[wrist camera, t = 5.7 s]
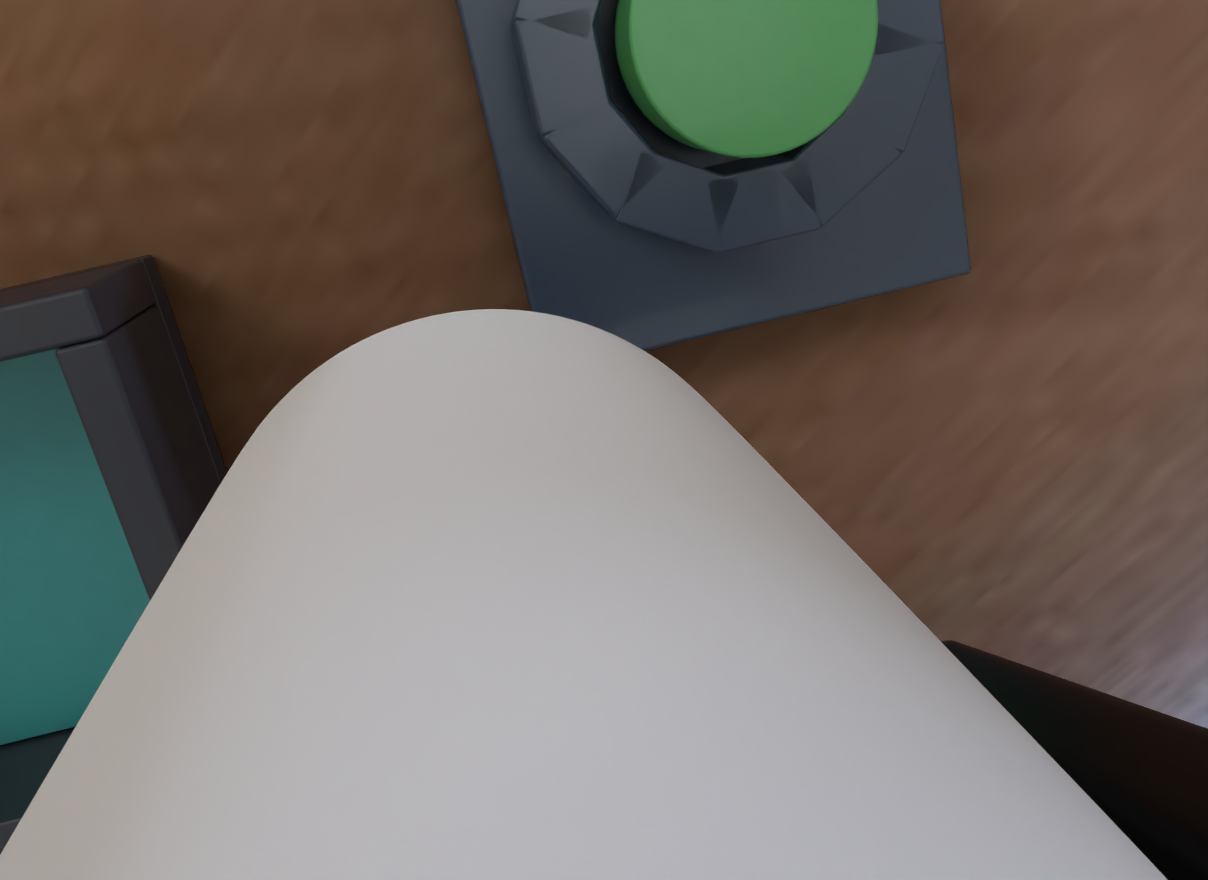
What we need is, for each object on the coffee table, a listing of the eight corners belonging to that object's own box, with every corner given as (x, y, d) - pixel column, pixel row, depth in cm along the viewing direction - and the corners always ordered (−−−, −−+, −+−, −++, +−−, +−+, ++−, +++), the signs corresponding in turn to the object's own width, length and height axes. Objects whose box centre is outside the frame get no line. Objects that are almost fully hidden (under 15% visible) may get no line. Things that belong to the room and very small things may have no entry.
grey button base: (947, 264, 22) (1018, 289, 19) (543, 361, 21) (552, 401, 18) (875, -327, 18) (948, -404, 16) (402, -224, 18) (387, -283, 15)
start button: (856, 124, 18) (895, 127, 16) (639, 174, 18) (656, 182, 16) (822, -117, 17) (860, -140, 15) (591, -65, 17) (604, -83, 15)
